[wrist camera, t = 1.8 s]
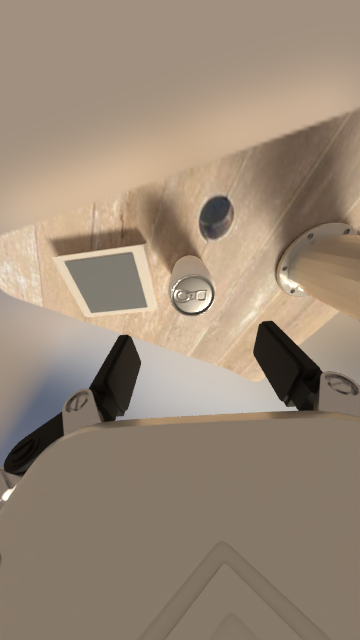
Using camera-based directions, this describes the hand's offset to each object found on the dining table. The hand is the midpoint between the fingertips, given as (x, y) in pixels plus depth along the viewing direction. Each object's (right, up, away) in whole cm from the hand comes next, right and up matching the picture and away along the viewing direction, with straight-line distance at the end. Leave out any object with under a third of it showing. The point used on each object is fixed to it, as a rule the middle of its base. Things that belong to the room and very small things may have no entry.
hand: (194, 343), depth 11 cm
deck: (-14, +10, +18) cm, 25 cm away
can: (+1, +11, +17) cm, 21 cm away
